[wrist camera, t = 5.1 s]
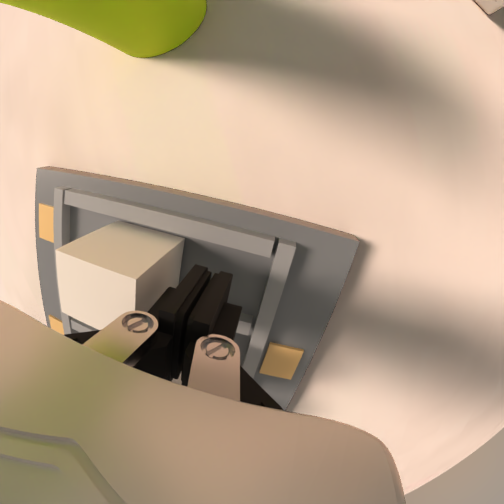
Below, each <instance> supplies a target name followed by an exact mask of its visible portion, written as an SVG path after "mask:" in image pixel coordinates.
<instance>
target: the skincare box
mask: <svg viewBox="0 0 504 504" xmlns="http://www.w3.org/2000/svg"><path fill="white" fill-rule="evenodd" d="M474 1H475V2H476V3H477V4H478V5H479V6H480V7H481V8H482V9H483V10H484V11H485V12H486V13H487V14H489V15H491V14H492V13H494V12H496V11H497V10H499V9H501V8H502V7H504V0H474Z"/></svg>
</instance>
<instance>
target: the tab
mask: <svg viewBox="0 0 504 504" xmlns="http://www.w3.org/2000/svg"><path fill="white" fill-rule="evenodd" d="M184 241H185V238H182V237H179V236H175V235H171V234H167V233H164V232H160V231H156V230H152V229H149V228H145V227H141V226H137V225H133V224H130V223H126V222H122V221H116V222H113V223H111V224H109V225H107V226H104V227H102V228H100V229H98V230H95V231H93V232H91V233H89V234H87V235H85V236H82V237H80V238H78V239H76V240H74V241H72V242H70V243H68V244H66V245H64V246H62V247H60V248H58V249H56V250H55V252H56V267H57V279H58V288H59V296H60V304H61V311H62V312H63V313H65V314H67V315H69V316H71V317H73V318H75V319H77V320H79V321H81V322H83V323H85V324H87V325H89V326H91V327H94V328H96V329H98V330H102V329H103V328H105V327H106V326H107V325H108V324H110V323H111V322H112V321H114V320H115V319H116V318H118V317H119V316H120V315H122V314H124V313H126V312H129V311H144V312H148V311H149V309H150V308H151V307H152V306H153V305H154V304H155V302H156V301H157V300H158V299H159V298H160V296H161V295H162V294H163V293H164V292H165V291H166V289H167V288H168V287H173V288H176V287H177V286H178V284H179V277H180V269H181V262H182V255H183V248H184Z"/></svg>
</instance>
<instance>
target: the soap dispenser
mask: <svg viewBox="0 0 504 504" xmlns="http://www.w3.org/2000/svg"><path fill="white" fill-rule="evenodd" d="M0 3H4V4H8V5H11V6H15V7H18V8H21V9H24V10H27V11H30V12H33V13H36V14H39V15H42V16H45V17H47V18H50V19H53V20H55V21H58V22H60V23H63V24H65V25H67V26H70V27H72V28H74V29H77V30H79V31H81V32H83V33H86V34H88V35H90V36H92V37H94V38H96V39H98V40H101V41H103V42H105V43H107V44H109V45H111V46H113V47H115V48H117V49H118V50H120V51H122V52H124V53H126V54H128V55H130V56H133V57H139V58H147V57H153V56H157V55H161V54H163V53H166V52H168V51H170V50H172V49H174V48H176V47H177V46H179V45H180V44H182V43H183V42H185V41H186V40H187V39H188V38H189V37H190V36H191V35H192V34H193V33H194V32H195V31H196V30H197V28H198V27H199V26H200V24H201V22H202V21H203V18H204V16H205V13H206V7H207V4H206V0H0Z"/></svg>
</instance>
